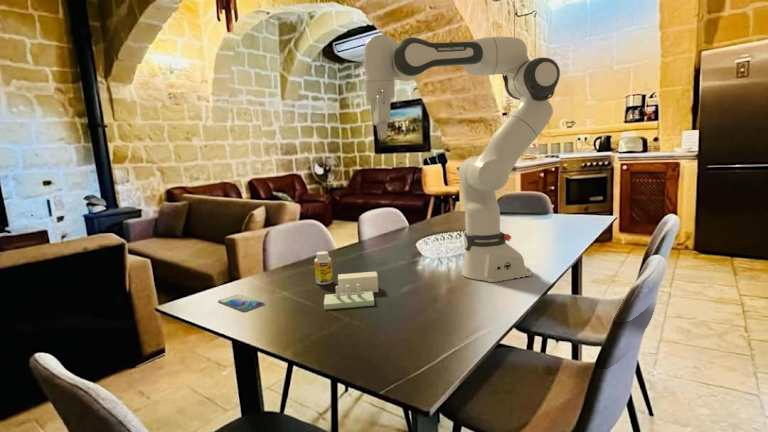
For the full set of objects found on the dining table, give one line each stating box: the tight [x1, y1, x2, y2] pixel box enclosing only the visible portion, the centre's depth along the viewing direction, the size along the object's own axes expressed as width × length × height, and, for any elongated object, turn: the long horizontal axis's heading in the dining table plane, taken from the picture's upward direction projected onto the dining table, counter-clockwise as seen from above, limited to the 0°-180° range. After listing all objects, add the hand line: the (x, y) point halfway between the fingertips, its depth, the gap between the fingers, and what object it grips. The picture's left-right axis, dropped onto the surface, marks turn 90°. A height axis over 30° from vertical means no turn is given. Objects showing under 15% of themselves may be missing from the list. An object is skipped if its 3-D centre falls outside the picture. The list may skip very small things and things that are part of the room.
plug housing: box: [337, 271, 379, 293], centre depth 131 cm, size 12×5×5 cm, turn 95°
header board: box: [323, 284, 375, 311], centre depth 121 cm, size 14×8×5 cm, turn 95°
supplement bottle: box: [313, 250, 333, 286], centre depth 141 cm, size 6×6×10 cm
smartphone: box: [217, 294, 266, 313], centre depth 126 cm, size 7×1×15 cm
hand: (382, 138), depth 131 cm, fingers open, 8 cm apart
